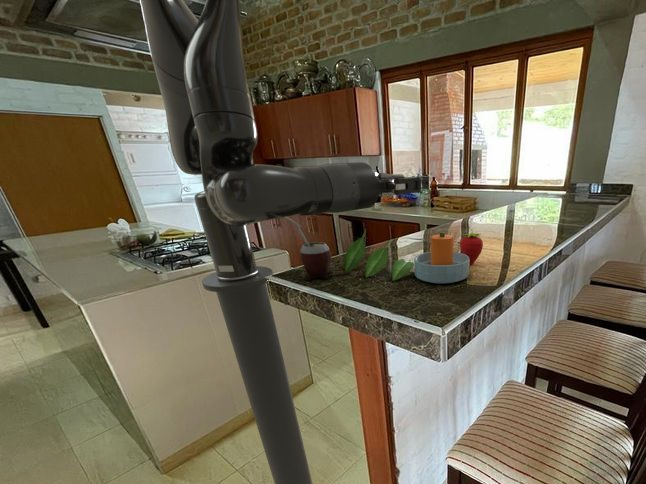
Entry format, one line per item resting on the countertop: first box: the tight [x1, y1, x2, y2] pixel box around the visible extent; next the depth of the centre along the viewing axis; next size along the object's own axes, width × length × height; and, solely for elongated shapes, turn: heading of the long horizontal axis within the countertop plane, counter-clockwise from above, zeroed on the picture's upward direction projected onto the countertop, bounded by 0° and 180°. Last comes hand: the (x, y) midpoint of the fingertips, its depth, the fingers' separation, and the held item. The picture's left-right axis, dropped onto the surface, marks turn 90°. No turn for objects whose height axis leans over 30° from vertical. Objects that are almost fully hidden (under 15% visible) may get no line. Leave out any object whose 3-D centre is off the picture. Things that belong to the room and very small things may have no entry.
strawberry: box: [459, 226, 484, 266], centre depth 87 cm, size 6×8×10 cm
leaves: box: [344, 229, 414, 282], centre depth 84 cm, size 18×6×13 cm
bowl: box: [413, 251, 470, 285], centre depth 80 cm, size 13×13×4 cm
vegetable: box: [430, 231, 454, 266], centre depth 79 cm, size 5×5×10 cm
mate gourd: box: [284, 216, 332, 281], centre depth 79 cm, size 8×8×15 cm
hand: (412, 181), depth 66 cm, fingers open, 8 cm apart
